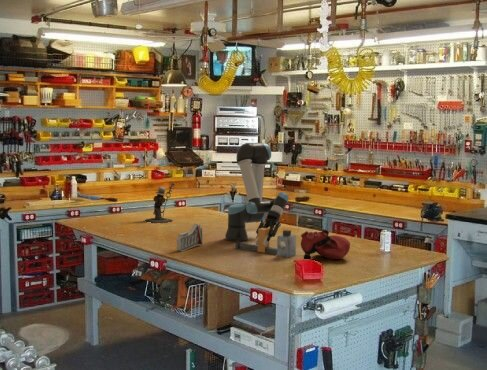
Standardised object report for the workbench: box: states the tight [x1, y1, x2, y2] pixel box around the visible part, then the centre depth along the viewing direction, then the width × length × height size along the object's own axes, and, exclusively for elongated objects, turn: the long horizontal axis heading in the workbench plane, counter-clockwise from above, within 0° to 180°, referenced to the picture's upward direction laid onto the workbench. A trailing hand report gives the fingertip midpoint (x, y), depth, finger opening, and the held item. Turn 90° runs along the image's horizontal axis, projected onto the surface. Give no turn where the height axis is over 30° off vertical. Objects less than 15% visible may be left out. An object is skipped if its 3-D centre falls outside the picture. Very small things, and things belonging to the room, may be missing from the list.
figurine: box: [144, 182, 176, 224], centre depth 475 cm, size 23×23×30 cm
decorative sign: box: [176, 223, 204, 252], centre depth 377 cm, size 23×3×15 cm, turn 149°
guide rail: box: [234, 241, 277, 256], centre depth 373 cm, size 31×5×4 cm, turn 56°
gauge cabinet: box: [276, 233, 297, 259], centre depth 362 cm, size 7×10×12 cm
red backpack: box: [300, 227, 351, 260], centre depth 354 cm, size 24×20×30 cm
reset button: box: [282, 229, 292, 237], centre depth 361 cm, size 3×3×6 cm
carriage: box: [257, 227, 270, 254], centre depth 371 cm, size 5×6×14 cm
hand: (260, 244), depth 368 cm, fingers closed on carriage, 5 cm apart
